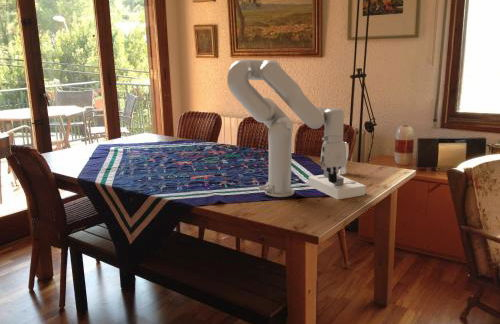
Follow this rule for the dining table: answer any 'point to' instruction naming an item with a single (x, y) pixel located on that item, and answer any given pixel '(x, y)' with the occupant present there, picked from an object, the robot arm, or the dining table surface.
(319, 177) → the switch panel
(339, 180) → the front switch
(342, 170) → the beer glass
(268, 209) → the dining table surface
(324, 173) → the back switch
